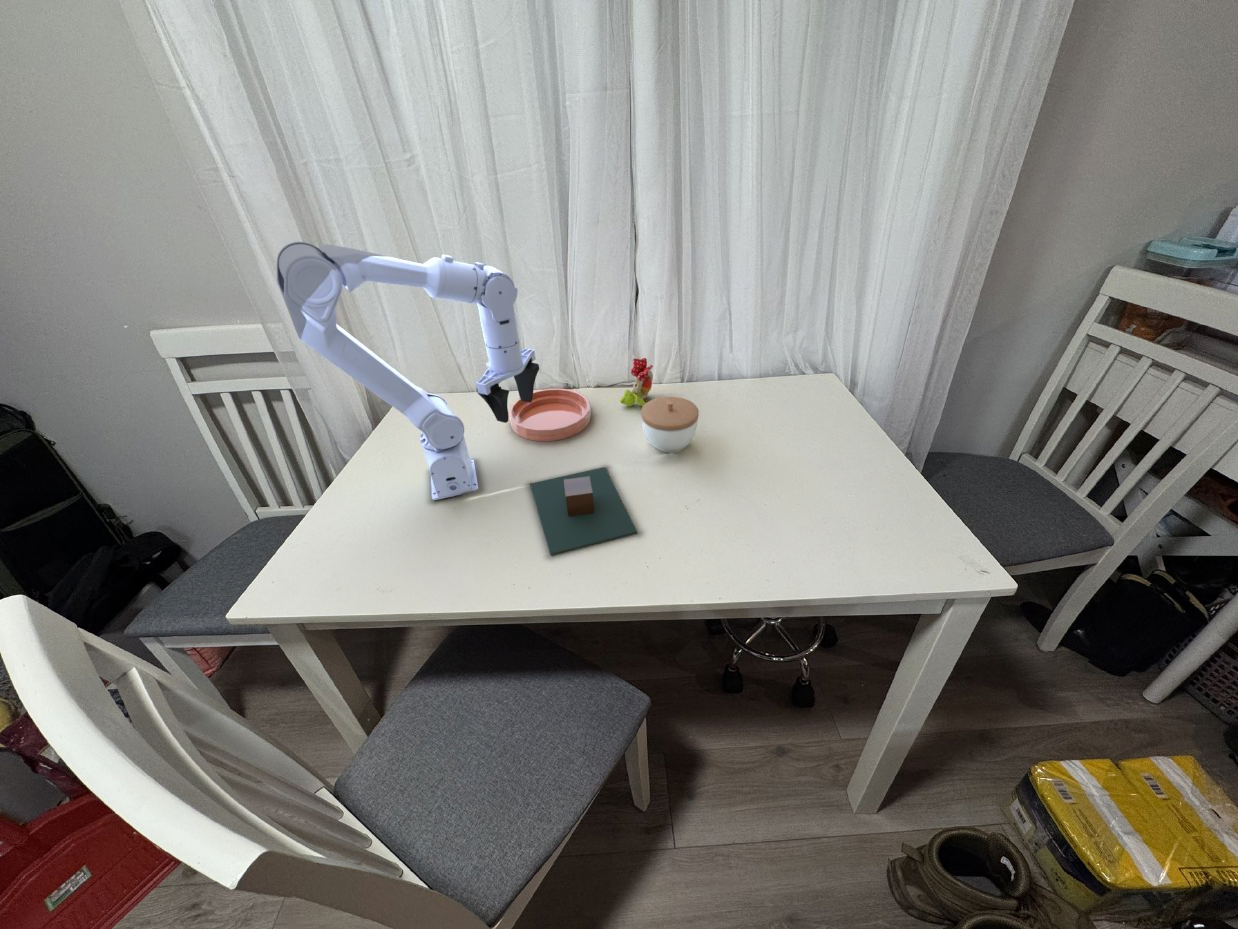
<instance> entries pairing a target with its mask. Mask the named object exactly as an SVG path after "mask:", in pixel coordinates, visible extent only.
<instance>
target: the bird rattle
mask: <svg viewBox="0 0 1238 929" xmlns="http://www.w3.org/2000/svg"><path fill="white" fill-rule="evenodd" d="M632 363H633V364H632V366H633V367H632V368H631V369H630V373H631V376H633V377H635V380H634V383H633V386H632V390H629V389H626V390H625V391H624V394H623V396H622V397H621V398H620V400H619V402H620V404H623V405H624V406H627V407H633V406H634V405H635V404H637V405H639V406H640V407H641V408H642V407H643V406H644V405H645V404H646V403H647V402H646V401H645V400H646V399H647V398H648V395H649V392H650V391H651V389H652V385H653V379H654V374H653V372H652V370H651V369H652V368H653V367H654V365H653V364H650V365H649V366H648V359H647V358H646V357H643V358H641V359H639V358H633V359H632Z"/></svg>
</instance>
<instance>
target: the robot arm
mask: <svg viewBox="0 0 1238 929" xmlns="http://www.w3.org/2000/svg"><path fill="white" fill-rule="evenodd" d="M317 245H318V246H316V245H315V244H312V243H310V242H306V241H294V242H290V243H288V244H286V245H284V246H283V247H282V248H281V249H280V251H279V252H278V254H277V258H276V282H277V285H278V287H279V290H280V292H281V295H282V298H283V300H284V303H285V305H286V306H285V307H286V308H287V311H288V314H289V317H290V320H291V322H292V325H293V327H294V330H295V332H296V334H297V336H298V338H299V340H300V341H301V342H302V343H303V344H305V345H306V346H307V347H309V348H310V349H312V350H313V351H314V352H315V353H317V354H318V355H320V356H321V357H323V358H324V359H325V360H326V361H329V363H330V364H331V363H332V365H334V366H335V367H337V368H338V369H340V371H342V372H343V373H345V374H346V375H348V376H349V377H351V378H352V379H353V380H354V381H356V382H357V383H359V384H360V385H362V386H363V387H364V388H366V389H368V390H369V391H370V392H372V393H373V394H374V395H376V396H377V397H378V398H380V399H381V400H383V401H384V402H385V403H387V404H388V405H390V406H391V407H393V409H395V410H397V411H398V412H400V413H401V414H402V415H403V416H404V417H405V418H406V419H407V420H408V421H409V422H410V423H411V424H412V425H413V426H414V427H415V428H416V429H418V430H419V431H420V438H419V441H420V444H421V448H422V451H423V454H424V457H425V460H426V463H427V466H428V469H429V475H430V487H431V500H432V501H439V500H443V499H448V498H451V497H455V496H460V495H462V494H465V493H470V492H474V491H477V490H479V483H478V477H477V472H476V471H477V470H476V465H475V464H476V463H475V460H474V459H471V456H470V454H469V450H468V446H467V443H466V437H465V435H464V434H465V425H464V423H463V422H464V421H462V420H461V418H460V417H458V416H457V415H456V414H455V412H454V411H453V410H452V409H451V407H450V406H449V405H448V403H447V401H446V400H445V399H444V398H443V397H442V396H440V395H438V394H435V393H430V392H427V391H426V390H424V389H423V388H422V387H420V386H417V385H415V384H414V383H413V382H411V381H410V380H409V379H407V377H405V376H404V375H402V374H401V373H400V372H399V371H397V369H395V368H393V367H392V366H391V365H390V364H388V363H387V362H386V361H384V360H383V359H382V358H381V357H379V356H378V355H377V354H376V353H374V352H373V351H372V350H371V349H369V348H368V347H367V346H366V345H365V344H363V343H362V342H361V341H359V340H358V339H356V337H354V336H353V335H351V334H350V333H349V332H348V331H346V330H345V329H344V328H342V327H341V326H340V325H339V324H337V306H338V303H339V301H340V298H341V295H342V292H343V286H344V287H345V289H346V290H347V291H348V293H352V292H354V291H355V290H356V289H357V288H359V287H360V286H362V285H363V284H365V283H366V282H372V283H373V282H374V283H380V284H389V285H400V286H407V287H408V286H409V287H414V288H415V287H417V288H423V289H424V291H425V292H426V293H427V295H428V296H429V297H430V298H432V299H437V300H438V299H439V300H446V301H452V302H459V303H464V304H465V303H467V304H476V305H477V309H478V313H479V320H480V325H481V330H482V335H483V340H484V345H485V350H486V355H487V360H488V361H487V362H486V363H485V366H486V367H485V368H487V369H486V370H485V372H484V373H483V375H482V376H481V377H480V379H479V380H478V381H476V382H475V386H476V388H475V389H476V393H477V394H478V395H479V396H480V397H481V399H482V400H484V402H485V403H486V404H487V405H488V407H489V408H490V410H491V412H492V413H493V415H494V417H495V420H496V421H497V422H501V423H505V424H507V423H508V422H509V420H510V417H509V409H508V401H509V400H508V399H509V394H510V390H508V389H505V388H502V386H500V383H502V382H503V381H506V380H508V379H510V378H514V381H515V384H516V387H517V392H518V396H519V398H520V399H521V401H525V402H529V403H530V402H532V398H533V392H534V389H535V382H536V379H537V376H538V373H539V371H540V364H538V363H536V362H534V361H535V360H536V359H537V358H536V353H535V349H533V348H532V349H531V348H523V349H521V342H520V336H519V330H518V324H517V319H516V313H515V307H514V306H515V305H514V304H515V302H516V301H517V297H518V287H516V286H515V283H514V281H513V279H512V278H511V277H510V276H509V275H508V274H507V273H504V272H503V271H501V270H499V269H497V268H496V267H494V266H491V265H488V264H487V263H485V262H484V263H482V262H478V261H475V262H474V264H471V263H466V262H462V261H461V262H460V261H456V260H454V257H453V256H451V255H449V254H441V257H436V256H434V257H432V258H430V259H428V260H427V261H425V262H424V263H419V262H415V261H411V260H405V259H400V258H396V257H393V256H387V255H383V254H378V253H374V252H370V251H366V250H365V251H364V250H362V249H361V250H360V249H356V248H353V247H346V246H339V245H333V244H324V243H318V244H317Z"/></svg>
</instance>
